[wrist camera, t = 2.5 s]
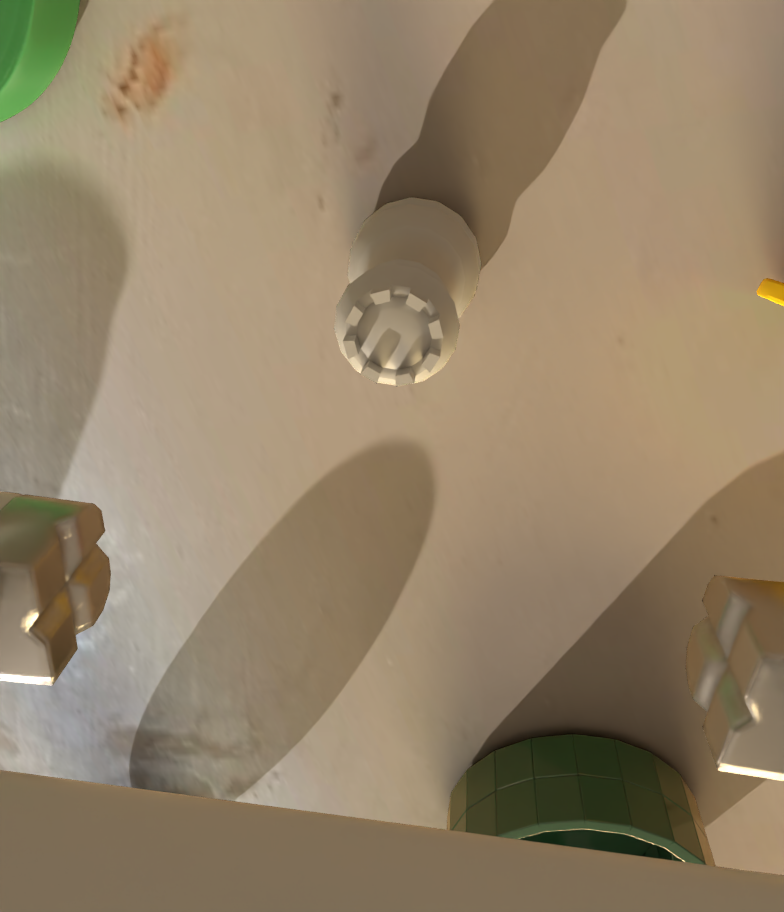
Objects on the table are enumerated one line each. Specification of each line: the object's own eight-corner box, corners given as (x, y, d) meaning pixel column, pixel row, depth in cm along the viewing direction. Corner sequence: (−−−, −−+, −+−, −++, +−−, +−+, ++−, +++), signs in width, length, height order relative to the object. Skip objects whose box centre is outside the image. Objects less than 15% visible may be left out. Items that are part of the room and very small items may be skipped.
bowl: (462, 711, 35) (460, 804, 31) (724, 743, 34) (760, 843, 30) (438, 868, 41) (433, 965, 37) (661, 899, 40) (684, 1001, 36)
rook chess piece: (420, 350, 27) (399, 452, 20) (325, 266, 26) (268, 343, 19) (508, 259, 25) (521, 336, 18) (411, 164, 24) (384, 207, 17)
